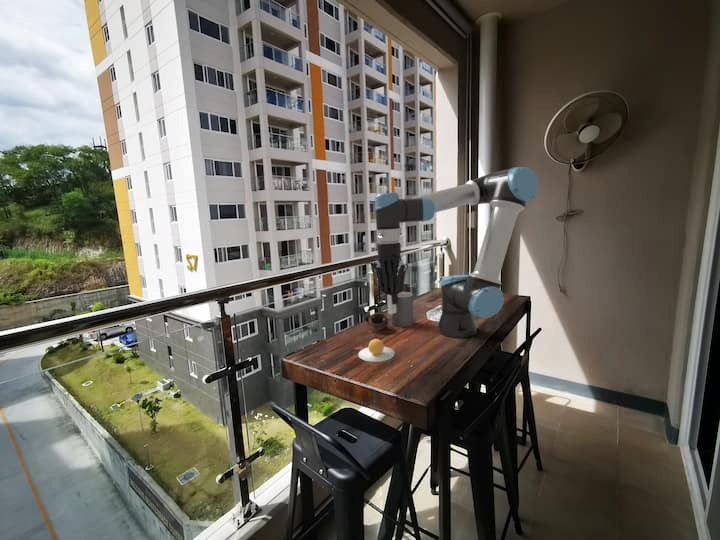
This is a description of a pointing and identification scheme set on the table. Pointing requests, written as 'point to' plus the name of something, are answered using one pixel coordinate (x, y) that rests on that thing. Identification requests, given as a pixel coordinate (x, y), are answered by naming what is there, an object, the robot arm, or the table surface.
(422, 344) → the table surface
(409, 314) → the pillar candle
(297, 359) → the table surface
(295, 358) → the table surface
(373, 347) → the ball
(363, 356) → the disc
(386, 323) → the pottery mug
